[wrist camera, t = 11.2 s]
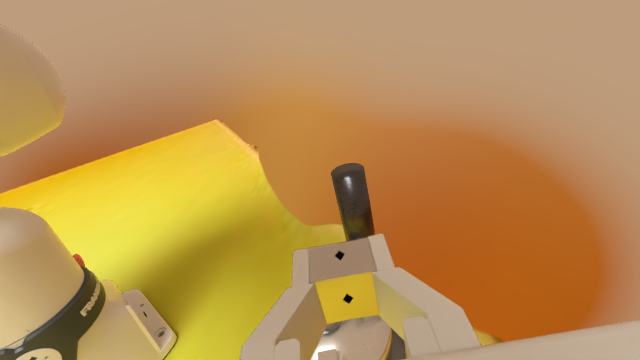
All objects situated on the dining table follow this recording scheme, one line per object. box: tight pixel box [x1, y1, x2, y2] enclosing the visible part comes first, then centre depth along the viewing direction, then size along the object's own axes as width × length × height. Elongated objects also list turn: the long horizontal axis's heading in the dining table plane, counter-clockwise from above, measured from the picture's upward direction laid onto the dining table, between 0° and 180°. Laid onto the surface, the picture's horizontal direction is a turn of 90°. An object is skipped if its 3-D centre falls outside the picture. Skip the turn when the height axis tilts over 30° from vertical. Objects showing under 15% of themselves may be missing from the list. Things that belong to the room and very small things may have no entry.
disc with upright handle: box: [311, 163, 393, 360], centre depth 30 cm, size 14×12×16 cm
